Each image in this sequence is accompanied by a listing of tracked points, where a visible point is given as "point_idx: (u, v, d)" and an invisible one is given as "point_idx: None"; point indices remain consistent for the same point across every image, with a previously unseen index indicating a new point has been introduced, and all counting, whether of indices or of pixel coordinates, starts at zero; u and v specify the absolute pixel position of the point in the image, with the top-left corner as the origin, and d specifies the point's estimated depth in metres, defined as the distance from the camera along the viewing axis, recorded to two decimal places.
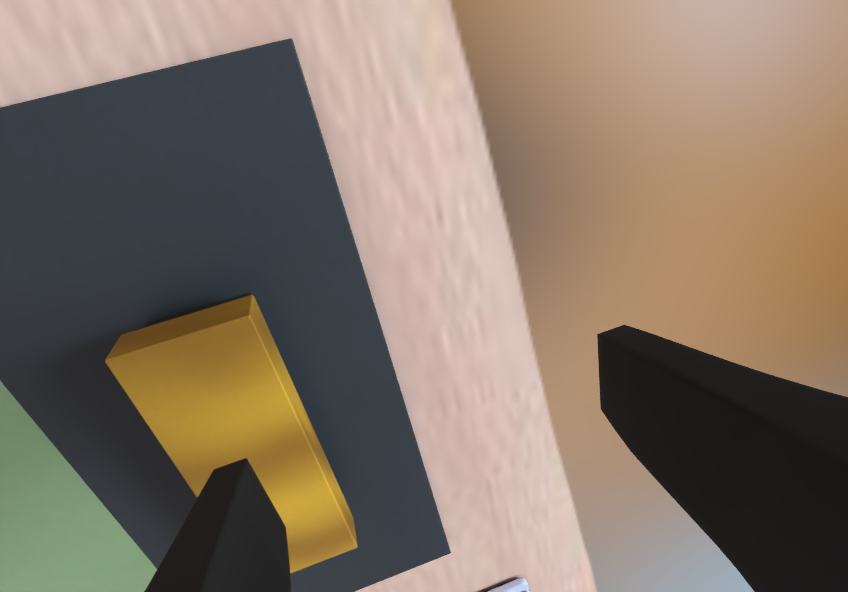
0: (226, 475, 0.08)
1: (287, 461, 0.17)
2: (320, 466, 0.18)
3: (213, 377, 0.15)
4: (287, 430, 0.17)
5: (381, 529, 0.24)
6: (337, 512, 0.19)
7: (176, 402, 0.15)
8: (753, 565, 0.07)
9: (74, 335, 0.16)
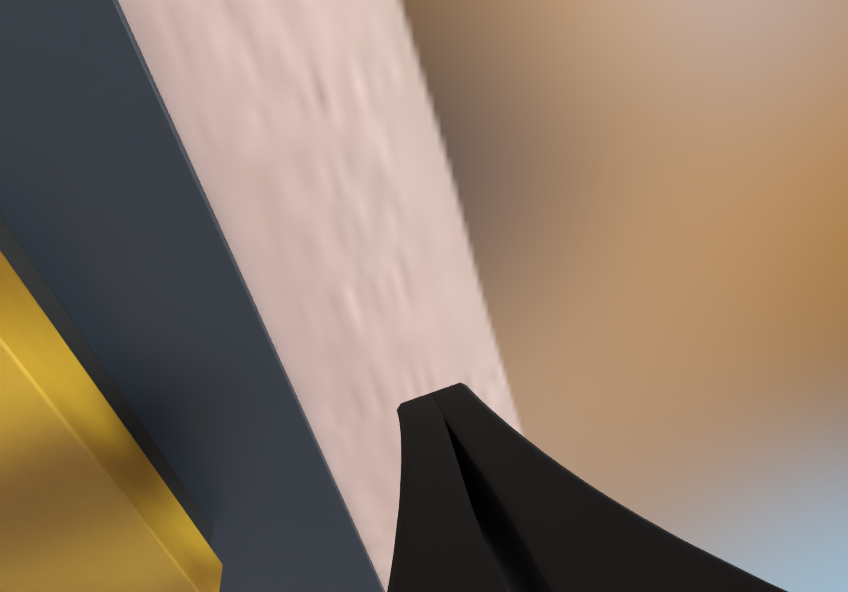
0: (420, 405, 0.08)
1: (60, 490, 0.10)
2: (126, 496, 0.11)
3: None
4: (47, 439, 0.10)
5: (282, 574, 0.17)
6: (171, 566, 0.12)
7: None
8: None
9: None
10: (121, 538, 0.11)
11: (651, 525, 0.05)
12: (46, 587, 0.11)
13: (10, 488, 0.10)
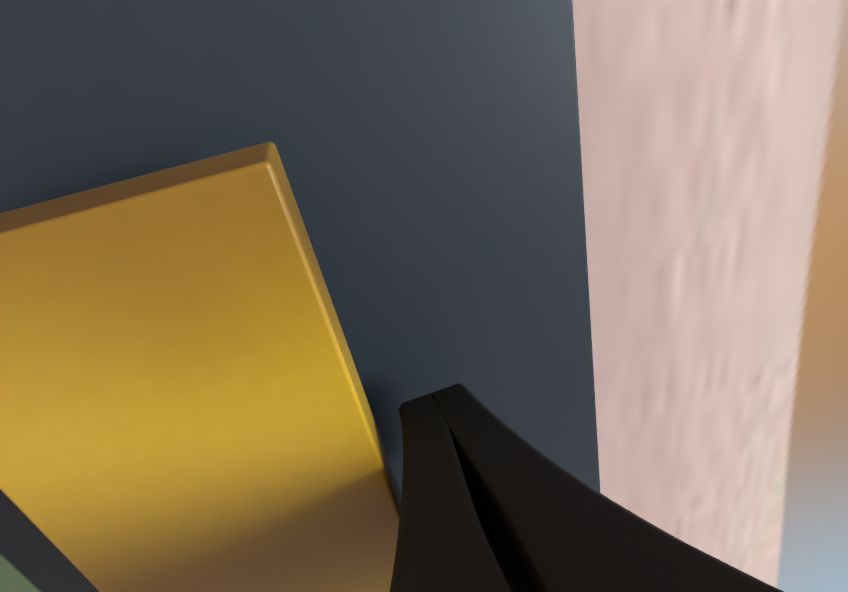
0: (421, 405, 0.08)
1: (347, 547, 0.08)
2: None
3: (166, 348, 0.05)
4: (352, 480, 0.07)
5: None
6: None
7: (65, 417, 0.05)
8: None
9: None
10: None
11: (650, 526, 0.05)
12: None
13: (291, 547, 0.07)
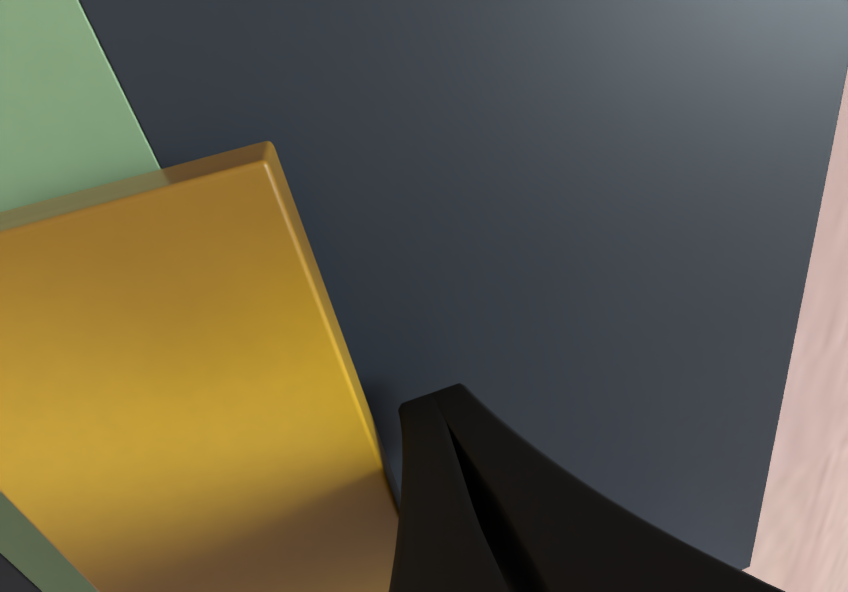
0: (421, 405, 0.08)
1: (346, 546, 0.08)
2: None
3: (164, 348, 0.05)
4: (351, 480, 0.07)
5: (685, 531, 0.15)
6: None
7: (63, 417, 0.05)
8: None
9: (344, 116, 0.07)
10: None
11: (650, 525, 0.05)
12: None
13: (290, 546, 0.07)
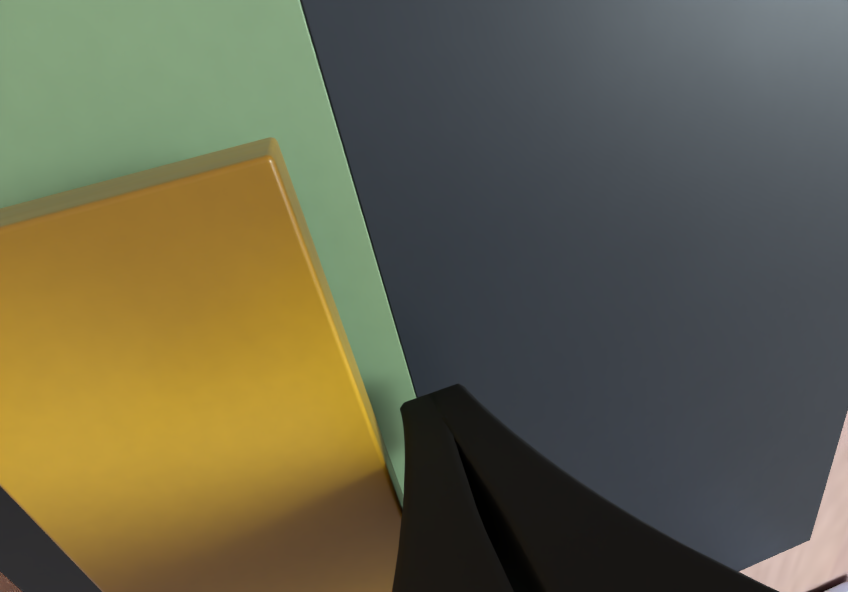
0: (423, 405, 0.08)
1: (349, 544, 0.08)
2: None
3: (168, 344, 0.05)
4: (354, 478, 0.07)
5: (755, 502, 0.16)
6: None
7: (66, 414, 0.05)
8: None
9: (504, 72, 0.08)
10: None
11: (648, 526, 0.05)
12: None
13: (292, 544, 0.07)
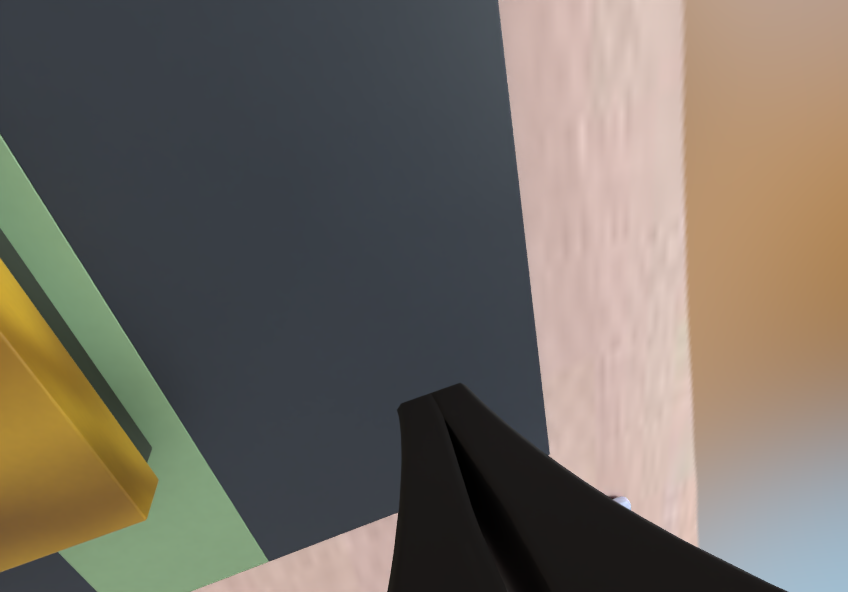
0: (420, 405, 0.08)
1: None
2: (46, 388, 0.11)
3: None
4: None
5: None
6: (97, 465, 0.13)
7: None
8: None
9: (95, 45, 0.11)
10: (44, 431, 0.12)
11: (651, 525, 0.05)
12: None
13: None
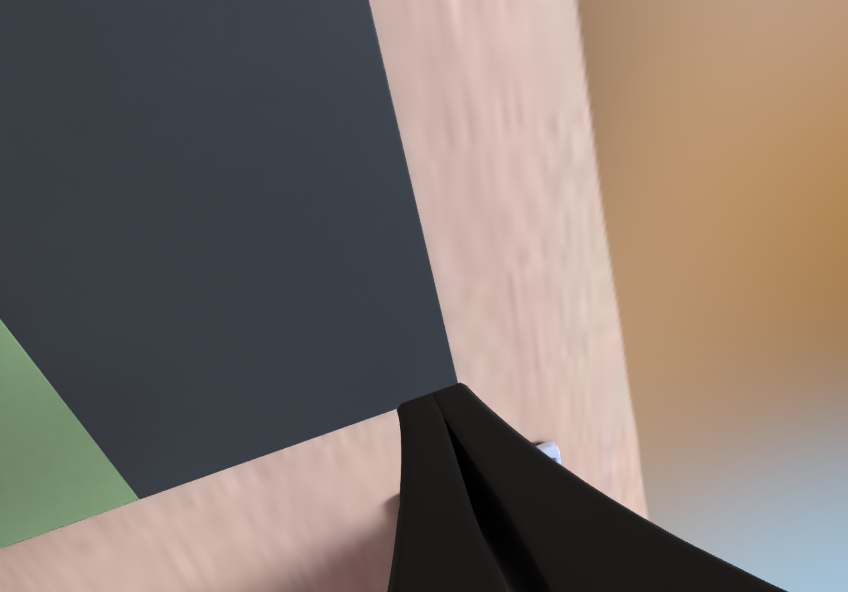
0: (420, 405, 0.08)
1: None
2: None
3: None
4: None
5: (362, 331, 0.17)
6: None
7: None
8: None
9: None
10: None
11: (651, 525, 0.05)
12: None
13: None
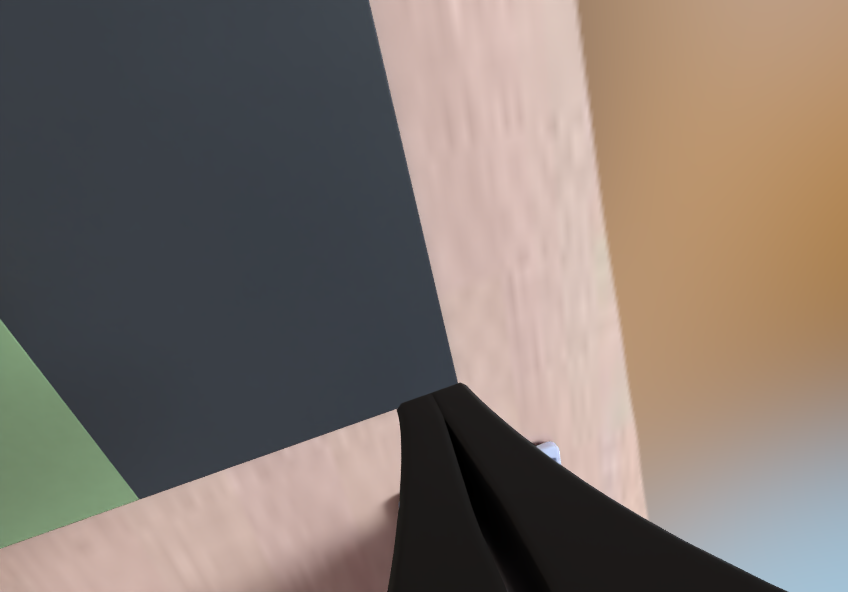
0: (420, 405, 0.08)
1: None
2: None
3: None
4: None
5: (362, 331, 0.17)
6: None
7: None
8: None
9: None
10: None
11: (651, 525, 0.05)
12: None
13: None
